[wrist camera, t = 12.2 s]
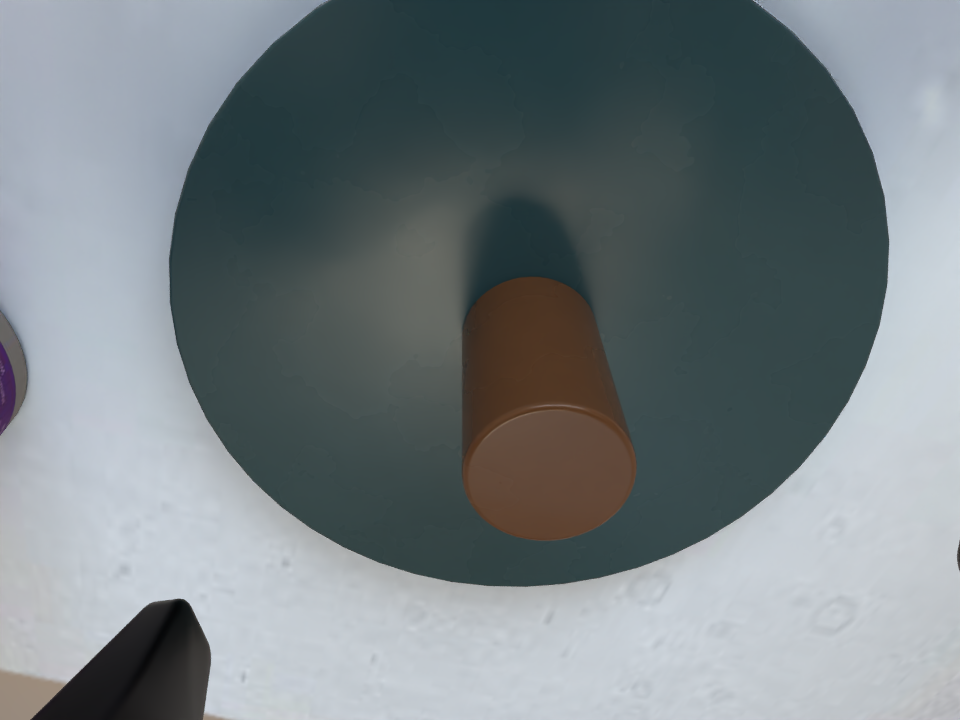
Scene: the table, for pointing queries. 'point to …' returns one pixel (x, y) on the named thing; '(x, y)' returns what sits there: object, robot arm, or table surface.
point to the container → (10, 374)
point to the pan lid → (528, 277)
